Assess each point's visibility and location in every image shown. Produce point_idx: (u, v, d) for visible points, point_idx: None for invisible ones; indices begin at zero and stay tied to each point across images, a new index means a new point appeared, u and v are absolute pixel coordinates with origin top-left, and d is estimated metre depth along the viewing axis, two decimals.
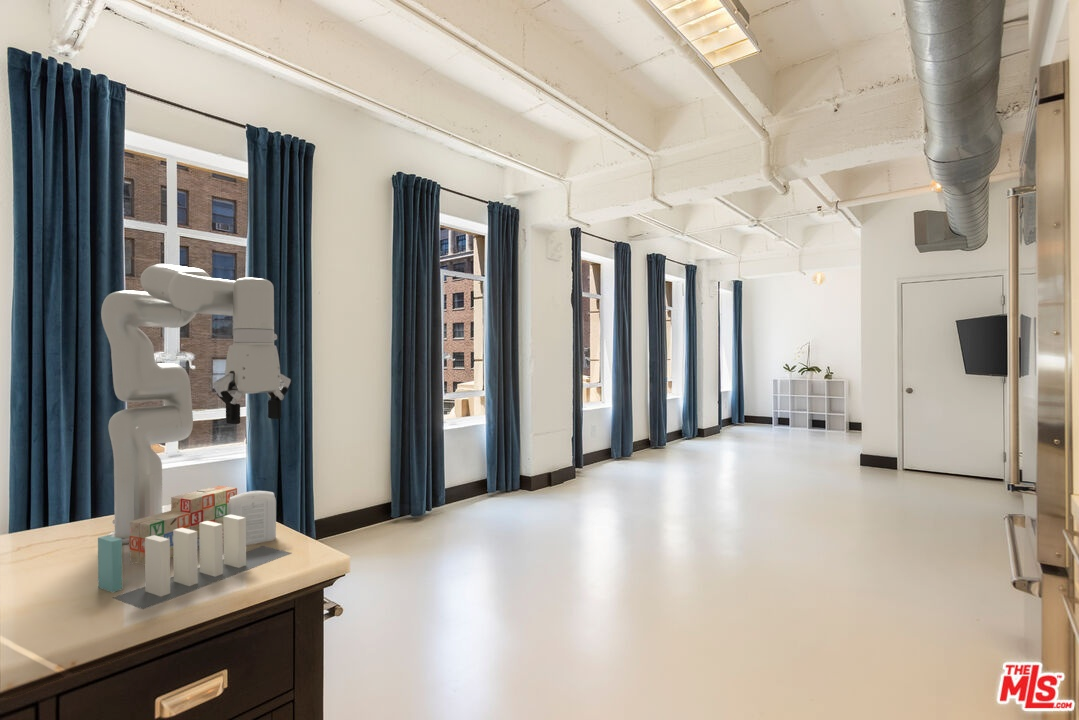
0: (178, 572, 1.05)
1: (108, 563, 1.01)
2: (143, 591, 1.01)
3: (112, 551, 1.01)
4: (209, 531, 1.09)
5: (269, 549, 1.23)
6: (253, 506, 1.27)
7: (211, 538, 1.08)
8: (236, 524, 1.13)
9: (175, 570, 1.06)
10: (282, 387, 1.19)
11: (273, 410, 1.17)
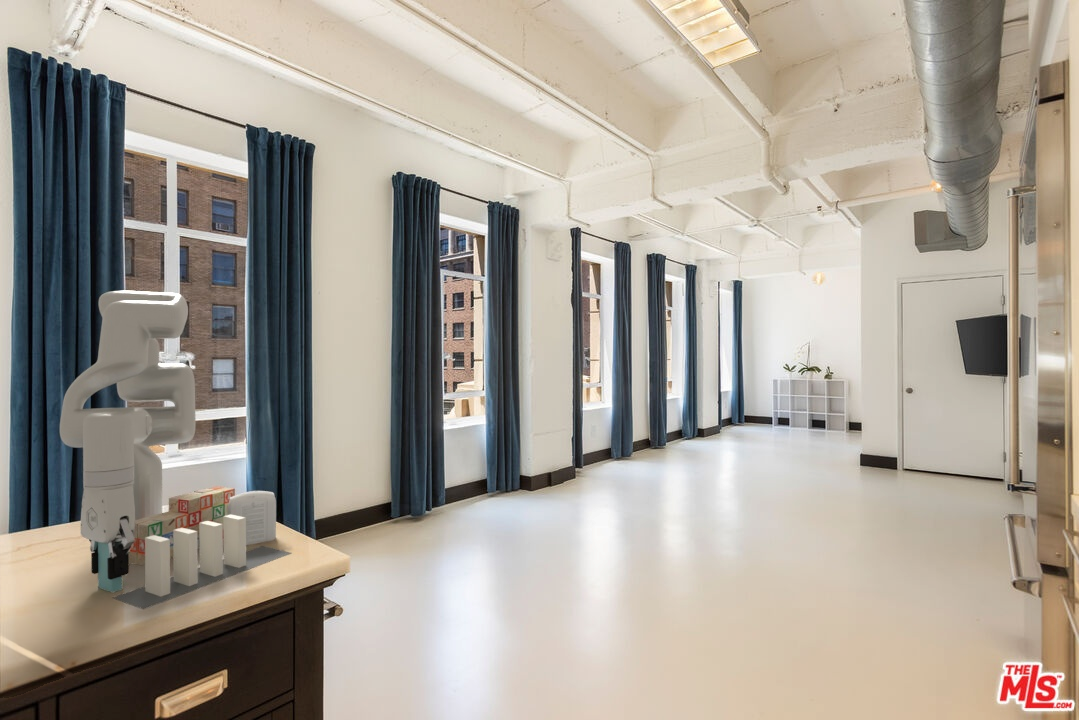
0: (178, 572, 1.05)
1: None
2: (143, 591, 1.01)
3: None
4: (209, 531, 1.09)
5: (269, 549, 1.23)
6: (253, 506, 1.27)
7: (211, 538, 1.08)
8: (236, 524, 1.13)
9: (175, 570, 1.06)
10: None
11: None
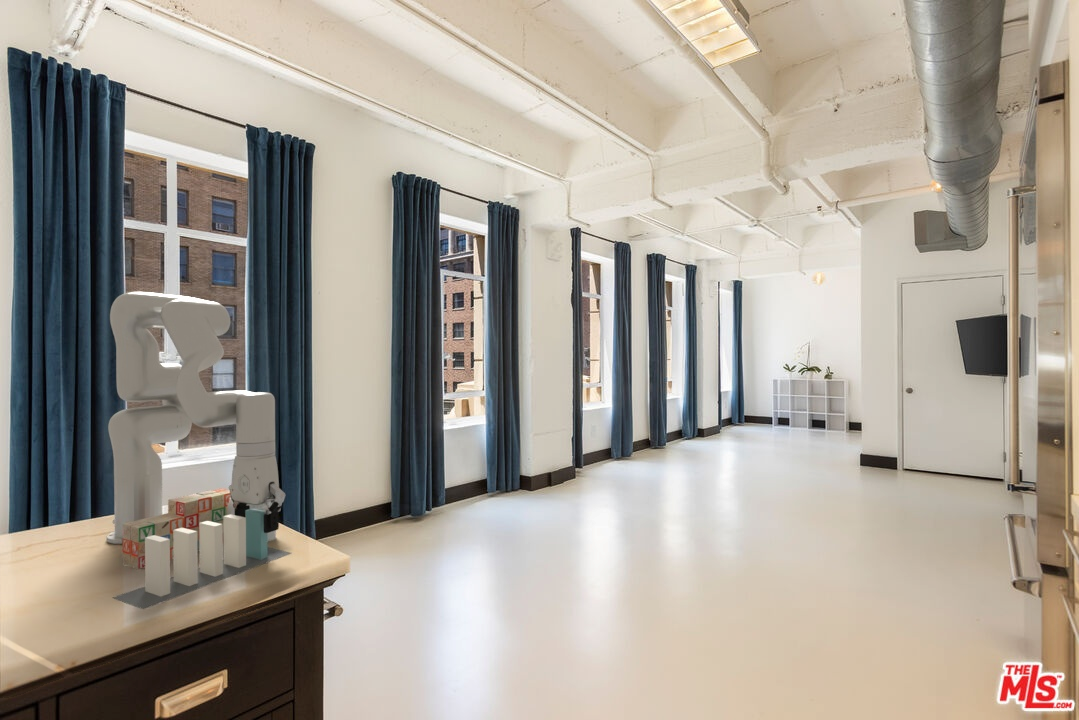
0: (178, 572, 1.05)
1: (257, 532, 1.17)
2: (143, 591, 1.01)
3: (260, 521, 1.17)
4: (209, 531, 1.09)
5: (269, 549, 1.23)
6: (253, 506, 1.27)
7: (211, 538, 1.08)
8: (236, 524, 1.13)
9: (175, 570, 1.06)
10: None
11: (244, 516, 1.21)
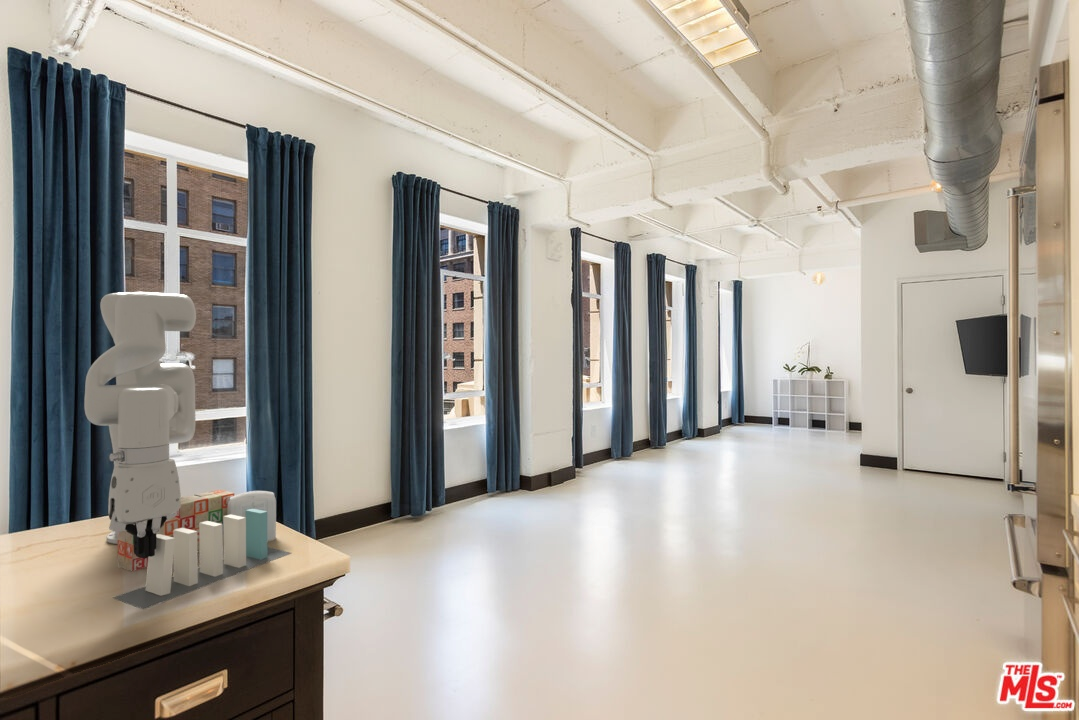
0: (178, 572, 1.05)
1: (257, 532, 1.17)
2: (143, 591, 1.01)
3: (260, 521, 1.17)
4: (209, 531, 1.09)
5: (269, 549, 1.23)
6: (253, 506, 1.27)
7: (211, 538, 1.08)
8: (236, 524, 1.13)
9: (175, 570, 1.06)
10: None
11: None
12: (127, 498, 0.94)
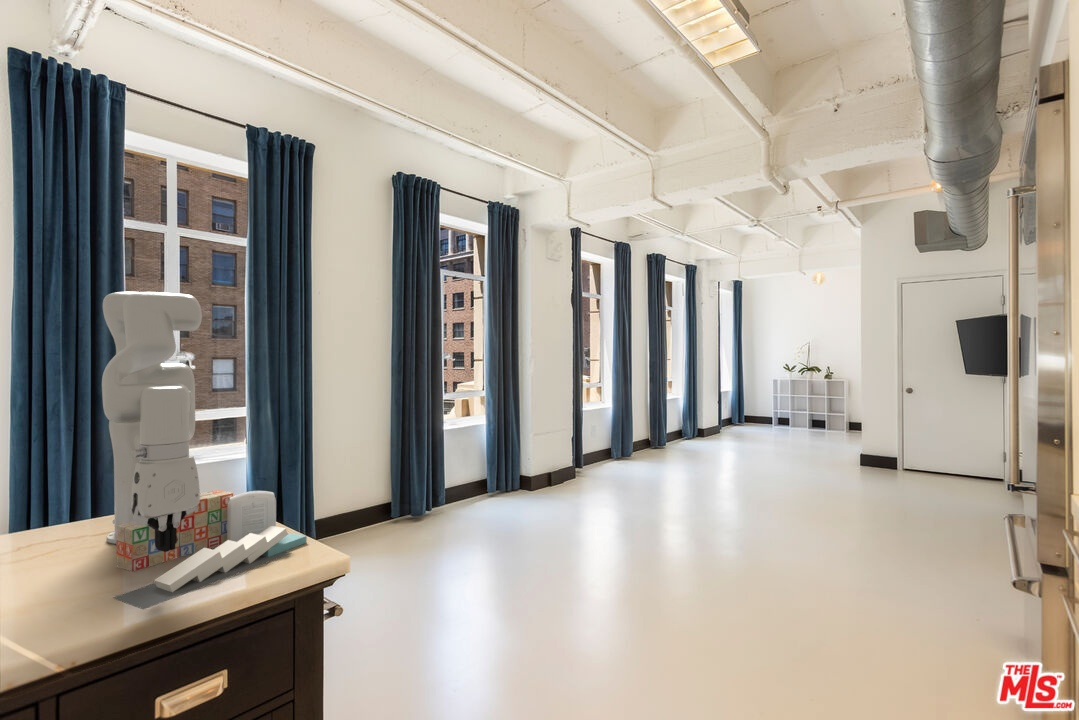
0: None
1: (287, 540, 1.24)
2: (143, 591, 1.01)
3: (300, 538, 1.26)
4: (255, 538, 1.18)
5: None
6: (253, 506, 1.27)
7: (251, 542, 1.16)
8: (279, 530, 1.22)
9: None
10: (148, 517, 1.00)
11: None
12: (150, 493, 0.97)
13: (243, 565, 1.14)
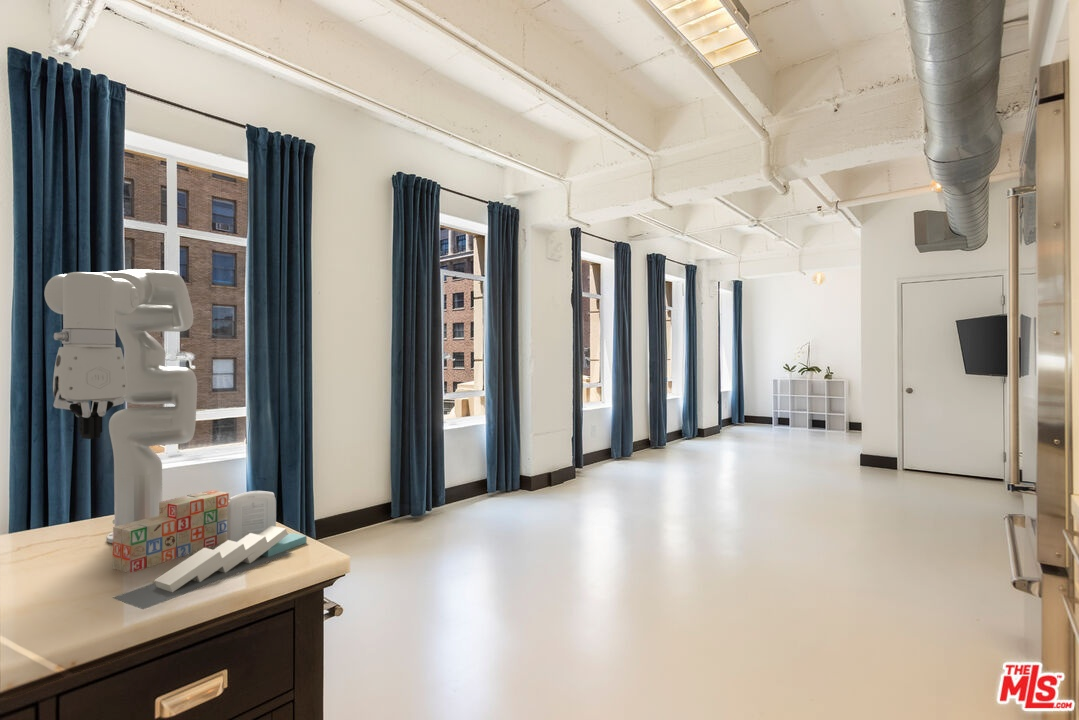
0: None
1: (287, 540, 1.24)
2: (143, 591, 1.01)
3: (300, 538, 1.26)
4: (255, 538, 1.18)
5: None
6: (253, 506, 1.27)
7: (251, 542, 1.16)
8: (279, 530, 1.22)
9: None
10: (71, 403, 0.99)
11: None
12: (71, 376, 0.97)
13: (243, 565, 1.14)
